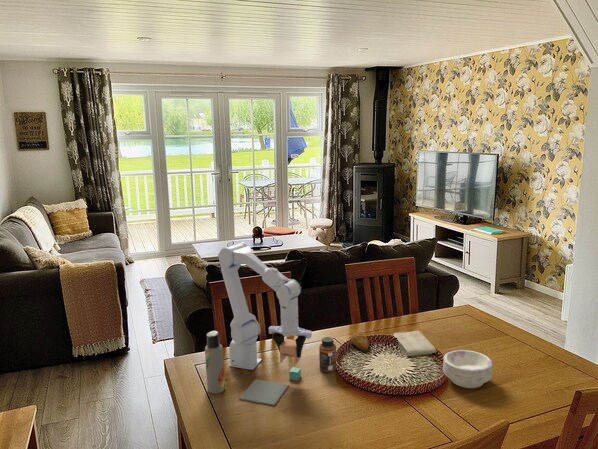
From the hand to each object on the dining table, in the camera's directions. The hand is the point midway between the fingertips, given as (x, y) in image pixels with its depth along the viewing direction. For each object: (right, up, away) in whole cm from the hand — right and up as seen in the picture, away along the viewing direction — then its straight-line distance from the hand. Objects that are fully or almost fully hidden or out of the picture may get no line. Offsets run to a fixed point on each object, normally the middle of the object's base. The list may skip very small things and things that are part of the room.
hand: (290, 355), depth 163 cm
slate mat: (-8, -11, -6) cm, 15 cm away
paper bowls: (+58, -8, -2) cm, 59 cm away
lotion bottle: (-24, -11, -3) cm, 27 cm away
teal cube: (+1, -9, +3) cm, 9 cm away
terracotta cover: (0, -2, 0) cm, 2 cm away
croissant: (+26, -3, +26) cm, 37 cm away
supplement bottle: (+13, -7, +8) cm, 17 cm away
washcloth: (+47, -3, +25) cm, 53 cm away
